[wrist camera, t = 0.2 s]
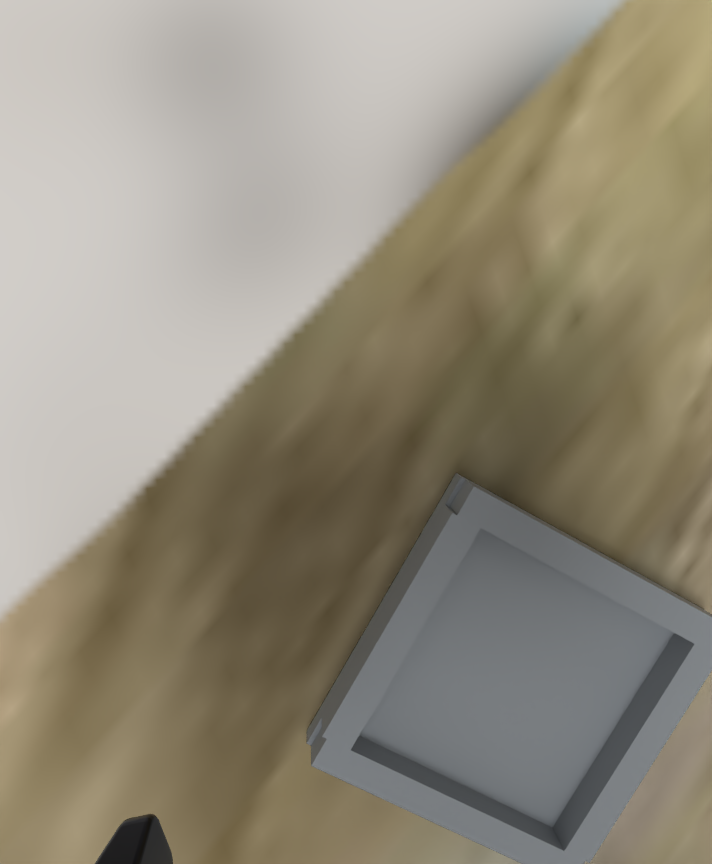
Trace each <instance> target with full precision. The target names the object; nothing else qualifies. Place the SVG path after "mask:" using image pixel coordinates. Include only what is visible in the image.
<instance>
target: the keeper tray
mask: <svg viewBox="0 0 712 864" xmlns="http://www.w3.org/2000/svg"><path fill="white" fill-rule="evenodd" d="M711 671H712V614H710V613H708V612H707V611H705V610H704V609H702V608H700V607H699V606H697V605H695V604H693V603H691V602H689V601H688V600H686V599H684V598H682V597H680V596H679V595H677V594H675V593H673V592H671V591H670V590H668V589H666V588H664V587H662V586H660V585H659V584H657V583H655V582H653V581H651V580H650V579H648V578H646V577H644V576H642V575H641V574H639V573H637V572H635V571H633V570H631V569H630V568H628V567H626V566H624V565H622V564H621V563H619V562H617V561H615V560H613V559H611V558H610V557H608V556H606V555H604V554H602V553H601V552H599V551H597V550H595V549H593V548H592V547H590V546H588V545H586V544H584V543H582V542H581V541H579V540H577V539H575V538H573V537H572V536H570V535H568V534H566V533H564V532H563V531H561V530H559V529H557V528H555V527H553V526H552V525H550V524H548V523H546V522H544V521H543V520H541V519H539V518H537V517H535V516H534V515H532V514H530V513H528V512H526V511H524V510H523V509H521V508H519V507H517V506H515V505H514V504H512V503H510V502H508V501H506V500H504V499H503V498H501V497H499V496H497V495H495V494H494V493H492V492H490V491H488V490H486V489H485V488H483V487H481V486H479V485H477V484H475V483H474V482H472V481H470V480H468V479H466V478H465V477H463V476H461V475H459V474H457V473H456V474H455V476H454V477H453V479H452V481H451V483H450V484H449V486H448V488H447V489H446V491H445V493H444V495H443V496H442V498H441V500H440V502H439V503H438V505H437V507H436V508H435V510H434V512H433V514H432V515H431V517H430V519H429V521H428V522H427V524H426V526H425V527H424V529H423V531H422V533H421V534H420V536H419V538H418V540H417V541H416V543H415V545H414V546H413V548H412V550H411V552H410V553H409V555H408V557H407V559H406V560H405V562H404V564H403V565H402V567H401V569H400V571H399V572H398V574H397V576H396V578H395V579H394V581H393V583H392V584H391V586H390V588H389V590H388V591H387V593H386V595H385V597H384V598H383V600H382V602H381V603H380V605H379V607H378V609H377V610H376V612H375V614H374V616H373V617H372V619H371V621H370V622H369V624H368V626H367V628H366V629H365V631H364V633H363V635H362V636H361V638H360V640H359V641H358V643H357V645H356V647H355V648H354V650H353V652H352V654H351V655H350V657H349V659H348V660H347V662H346V664H345V666H344V667H343V669H342V671H341V673H340V674H339V676H338V678H337V679H336V681H335V683H334V685H333V686H332V688H331V690H330V692H329V693H328V695H327V697H326V698H325V700H324V702H323V704H322V705H321V707H320V709H319V711H318V712H317V714H316V716H315V717H314V719H313V721H312V723H311V724H310V726H309V728H308V730H307V744H309V745H311V766H313V767H315V768H317V769H319V770H321V771H323V772H325V773H328V774H330V775H332V776H334V777H336V778H338V779H341V780H343V781H345V782H347V783H349V784H351V785H353V786H356V787H358V788H360V789H362V790H364V791H366V792H369V793H371V794H373V795H375V796H377V797H379V798H382V799H384V800H386V801H388V802H390V803H392V804H394V805H397V806H399V807H401V808H403V809H405V810H407V811H410V812H412V813H414V814H416V815H418V816H420V817H422V818H425V819H427V820H429V821H431V822H433V823H435V824H438V825H440V826H442V827H444V828H446V829H448V830H451V831H453V832H455V833H457V834H459V835H461V836H463V837H466V838H468V839H470V840H472V841H474V842H476V843H479V844H481V845H483V846H485V847H487V848H489V849H491V850H494V851H496V852H498V853H500V854H502V855H504V856H507V857H509V858H511V859H513V860H515V861H517V862H519V863H522V864H584V862H585V861H587V862H589V863H590V862H591V860H592V858H593V857H594V855H595V854H596V852H597V851H598V849H599V847H600V846H601V844H602V843H603V841H604V840H605V838H606V836H607V835H608V833H609V832H610V830H611V828H612V827H613V825H614V824H615V822H616V821H617V819H618V817H619V816H620V814H621V813H622V811H623V810H624V808H625V806H626V805H627V803H628V802H629V800H630V798H631V797H632V795H633V794H634V792H635V791H636V789H637V787H638V786H639V784H640V783H641V781H642V780H643V778H644V776H645V775H646V773H647V772H648V770H649V768H650V767H651V765H652V764H653V762H654V761H655V759H656V757H657V756H658V754H659V753H660V751H661V750H662V748H663V746H664V745H665V743H666V742H667V740H668V739H669V737H670V735H671V734H672V732H673V731H674V729H675V727H676V726H677V724H678V723H679V721H680V720H681V718H682V716H683V715H684V713H685V712H686V710H687V709H688V707H689V705H690V704H691V702H692V701H693V699H694V697H695V696H696V694H697V693H698V691H699V690H700V688H701V686H702V685H703V683H704V682H705V680H706V679H707V677H708V675H709V674H710V672H711Z"/></svg>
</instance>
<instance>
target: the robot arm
mask: <svg viewBox="0 0 712 864" xmlns="http://www.w3.org/2000/svg"><path fill="white" fill-rule="evenodd" d="M95 864H173V859H172V853H171V850H170V847H169V845H168V842H167V840H166V837H165V835H164V832H163V830H162V827H161V825H160V822H159V820H158V818H157V817H156V816H155V815H153V814H147V815H143V816H138V817H133V818H129V819H127V820H125V821H124V822H123V823H122V824H121V825H120V826H119V827H118V829H117V830H116V832H115V833H114V835H113V837H112V838H111V840H110V841H109V843H108V844H107V846H106V847H105V849H104V850H103V852H102V853H101V855H100V856H99V858H98V860H97V861H96V863H95Z"/></svg>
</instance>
